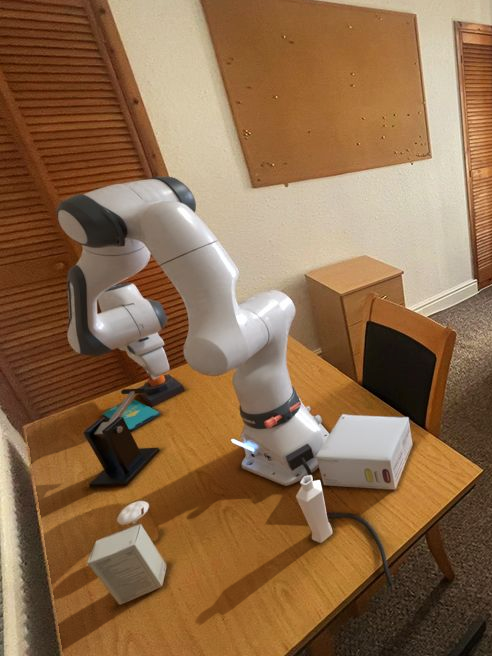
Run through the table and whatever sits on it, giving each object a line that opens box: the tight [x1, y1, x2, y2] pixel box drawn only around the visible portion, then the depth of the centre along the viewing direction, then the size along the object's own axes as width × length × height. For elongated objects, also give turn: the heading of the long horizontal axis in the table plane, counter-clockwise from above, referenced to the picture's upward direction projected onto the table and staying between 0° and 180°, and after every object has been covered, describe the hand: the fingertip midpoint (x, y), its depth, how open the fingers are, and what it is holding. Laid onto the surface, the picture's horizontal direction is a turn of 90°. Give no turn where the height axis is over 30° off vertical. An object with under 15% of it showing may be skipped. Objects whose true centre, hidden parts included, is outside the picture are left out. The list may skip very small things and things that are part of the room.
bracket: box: [82, 417, 161, 489], centre depth 93 cm, size 10×8×14 cm
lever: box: [94, 388, 148, 439], centre depth 95 cm, size 12×6×2 cm, turn 3°
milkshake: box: [116, 500, 160, 544], centre depth 78 cm, size 4×5×10 cm
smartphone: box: [102, 398, 161, 432], centre depth 112 cm, size 7×1×15 cm
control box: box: [136, 373, 186, 407], centre depth 120 cm, size 10×8×4 cm
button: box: [147, 374, 166, 386], centre depth 119 cm, size 4×4×2 cm
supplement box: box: [316, 413, 413, 491], centre depth 94 cm, size 17×13×9 cm
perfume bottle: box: [295, 475, 334, 544], centre depth 78 cm, size 5×4×15 cm
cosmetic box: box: [87, 524, 168, 606], centre depth 70 cm, size 6×4×12 cm
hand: (154, 376), depth 119 cm, fingers closed
